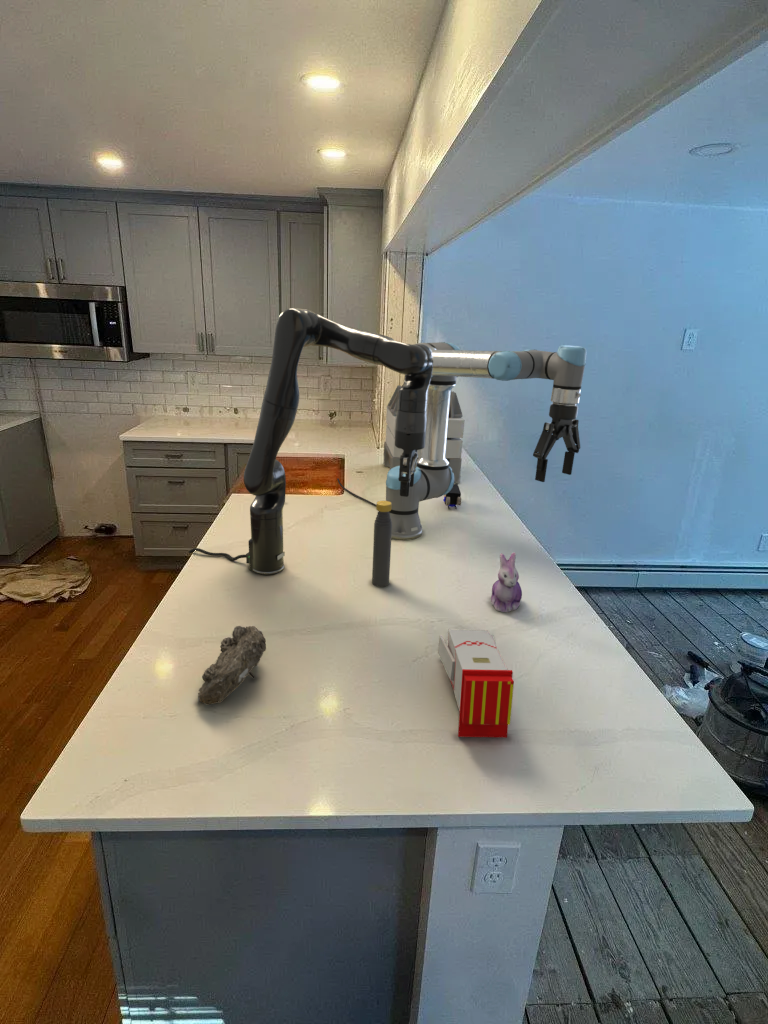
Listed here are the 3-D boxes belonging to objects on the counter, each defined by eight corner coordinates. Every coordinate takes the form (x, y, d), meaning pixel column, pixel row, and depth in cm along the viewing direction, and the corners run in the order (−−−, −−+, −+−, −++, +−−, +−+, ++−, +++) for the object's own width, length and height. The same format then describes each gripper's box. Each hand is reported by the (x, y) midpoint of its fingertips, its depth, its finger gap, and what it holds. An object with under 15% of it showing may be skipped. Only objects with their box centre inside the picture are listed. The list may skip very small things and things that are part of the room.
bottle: (369, 580, 165) (372, 502, 157) (384, 578, 167) (388, 500, 159) (375, 587, 161) (379, 508, 153) (391, 585, 163) (395, 506, 154)
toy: (488, 613, 130) (523, 677, 101) (484, 667, 133) (517, 744, 104) (435, 612, 130) (455, 676, 101) (432, 666, 133) (451, 743, 103)
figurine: (503, 617, 148) (510, 564, 143) (480, 599, 156) (486, 549, 151) (531, 609, 152) (539, 558, 147) (507, 593, 161) (513, 544, 156)
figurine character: (461, 514, 225) (456, 498, 239) (463, 497, 222) (458, 482, 235) (444, 513, 225) (440, 498, 239) (446, 496, 222) (442, 481, 235)
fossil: (217, 628, 129) (265, 598, 124) (246, 656, 132) (293, 628, 127) (177, 698, 110) (231, 666, 105) (211, 729, 113) (266, 699, 108)
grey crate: (382, 463, 289) (386, 382, 275) (445, 464, 293) (451, 384, 279) (390, 482, 257) (394, 392, 243) (460, 483, 261) (468, 394, 247)
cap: (373, 507, 157) (374, 501, 156) (387, 506, 159) (388, 499, 158) (379, 512, 154) (380, 506, 153) (393, 511, 155) (394, 504, 154)
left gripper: (400, 422, 147) (396, 481, 152) (390, 432, 134) (387, 498, 139) (429, 424, 146) (424, 484, 151) (422, 435, 132) (417, 501, 138)
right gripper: (550, 409, 147) (539, 487, 154) (600, 402, 163) (588, 473, 170) (526, 405, 152) (516, 480, 159) (577, 398, 168) (566, 468, 175)
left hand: (406, 491), depth 145 cm, fingers open, 8 cm apart
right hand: (553, 477), depth 165 cm, fingers open, 13 cm apart
